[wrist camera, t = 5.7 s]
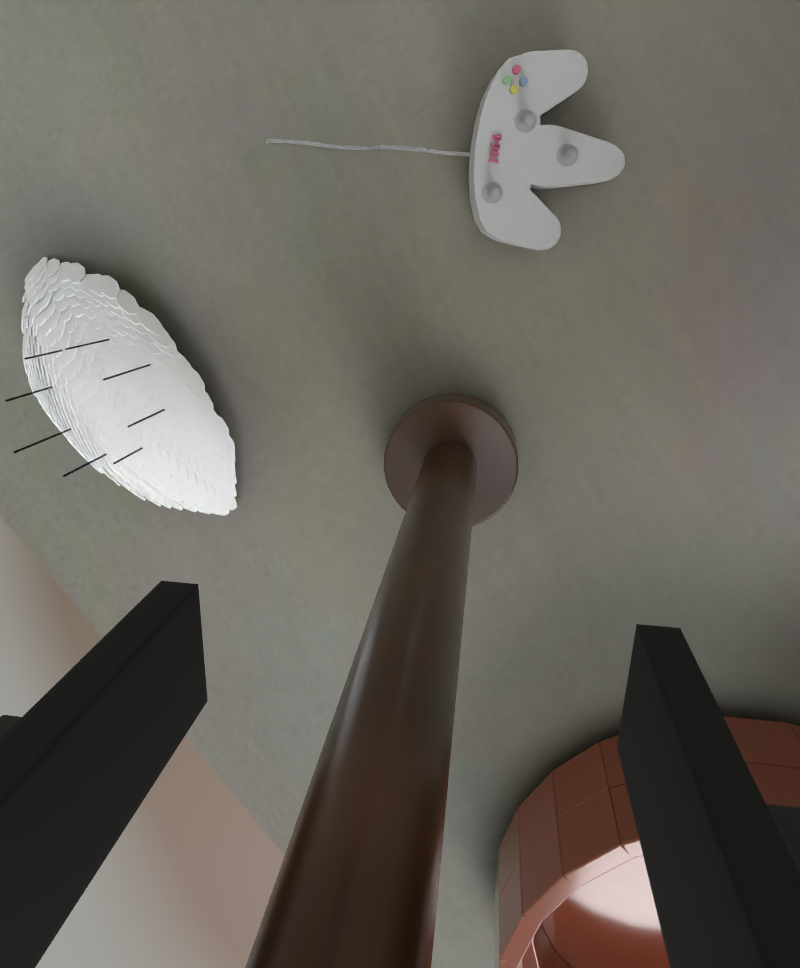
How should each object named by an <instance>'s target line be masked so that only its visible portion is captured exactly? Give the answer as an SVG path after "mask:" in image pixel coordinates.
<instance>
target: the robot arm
mask: <svg viewBox="0 0 800 968" xmlns="http://www.w3.org/2000/svg"><path fill="white" fill-rule="evenodd" d="M206 702H207V690H206V677H205V665H204V652H203V640H202V627H201V615H200V602H199V590H198V584H190V583H179V582H168V581H161V582H160V583H159V584H158V585H157V586H156V587H155V588H154V589H153V590H152V591H151V592H150V593H149V594H148V595H147V596H146V597H144V598H143V599H142V600H141V601H140V602H139V603H138V604H137V605H136V606H135V607H134V608H133V609H132V610H131V611H130V612H129V613H128V614H127V615H126V616H125V617H124V618H123V619H122V620H121V621H120V622H119V623H118V624H117V625H116V626H115V627H114V628H113V629H112V630H111V631H110V632H109V633H108V634H107V635H106V636H105V637H104V638H103V639H102V640H101V641H100V642H99V643H97V645H95V646H94V647H93V648H92V649H91V650H90V651H89V652H88V653H87V654H86V655H85V656H84V657H83V658H82V659H81V660H80V661H79V662H78V663H77V664H76V665H75V666H74V667H73V668H72V669H71V670H70V671H69V672H68V673H67V674H66V675H65V676H64V677H63V678H62V679H61V680H60V681H59V682H58V683H57V684H56V685H55V686H54V687H53V688H51V689H50V690H49V691H48V692H47V693H46V694H45V695H44V696H43V697H42V698H41V699H40V700H39V701H38V702H37V703H36V704H35V705H34V706H33V707H32V708H31V709H30V710H29V711H28V712H27V713H26V714H25V715H24V716H23V717H17V716H8V715H3V716H1V717H0V968H35V967H36V965H37V964H38V962H39V961H40V959H41V958H42V956H43V954H44V953H45V951H46V950H47V948H48V947H49V945H50V944H51V942H52V941H53V939H54V937H55V936H56V934H57V933H58V931H59V930H60V928H61V927H62V925H63V924H64V922H65V920H66V919H67V917H68V916H69V914H70V913H71V911H72V910H73V908H74V907H75V905H76V903H77V902H78V900H79V899H80V897H81V896H82V894H83V893H84V891H85V889H86V888H87V886H88V885H89V883H90V882H91V880H92V879H93V877H94V876H95V874H96V872H97V871H98V869H99V868H100V866H101V865H102V863H103V861H104V860H105V859H106V857H107V855H108V854H109V852H110V851H111V849H112V848H113V846H114V845H115V843H116V841H117V840H118V838H119V837H120V835H121V834H122V832H123V830H124V829H125V828H126V826H127V824H128V823H129V821H130V820H131V818H132V817H133V815H134V814H135V812H136V811H137V809H138V807H139V806H140V804H141V803H142V801H143V800H144V798H145V797H146V795H147V794H148V792H149V790H150V789H151V787H152V786H153V784H154V783H155V781H156V780H157V778H158V776H159V775H160V773H161V772H162V770H163V769H164V767H165V766H166V764H167V763H168V761H169V759H170V758H171V756H172V755H173V753H174V752H175V750H176V749H177V747H178V745H179V744H180V742H181V741H182V739H183V738H184V736H185V735H186V733H187V732H188V730H189V729H190V727H191V725H192V724H193V722H194V721H195V719H196V718H197V716H198V715H199V713H200V712H201V710H202V708H203V707H204V705H205V704H206ZM617 750H618V754H619V758H620V762H621V766H622V770H623V774H624V779H625V783H626V787H627V791H628V795H629V799H630V803H631V807H632V812H633V816H634V820H635V824H636V828H637V832H638V836H639V840H640V845H641V849H642V853H643V857H644V861H645V865H646V869H647V874H648V878H649V882H650V886H651V890H652V894H653V898H654V902H655V907H656V911H657V915H658V919H659V923H660V927H661V931H662V936H663V940H664V944H665V948H666V952H667V956H668V960H669V964H670V968H800V808H799V807H790V806H782V805H773V804H766V803H765V801H764V799H763V797H762V795H761V793H760V791H759V789H758V787H757V785H756V783H755V781H754V779H753V777H752V775H751V773H750V771H749V769H748V767H747V764H746V762H745V760H744V758H743V756H742V754H741V752H740V750H739V748H738V746H737V744H736V742H735V740H734V738H733V736H732V734H731V732H730V730H729V727H728V725H727V723H726V721H725V719H724V717H723V715H722V713H721V711H720V709H719V707H718V705H717V703H716V701H715V699H714V697H713V695H712V693H711V691H710V688H709V686H708V684H707V682H706V680H705V678H704V676H703V674H702V672H701V670H700V668H699V666H698V664H697V662H696V660H695V658H694V656H693V654H692V652H691V649H690V647H689V645H688V643H687V641H686V639H685V637H684V635H683V633H682V631H681V629H680V628H673V627H662V626H651V625H640V624H637V626H636V632H635V638H634V644H633V650H632V656H631V663H630V669H629V675H628V681H627V687H626V693H625V700H624V706H623V712H622V718H621V724H620V731H619V737H618V743H617Z"/></svg>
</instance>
